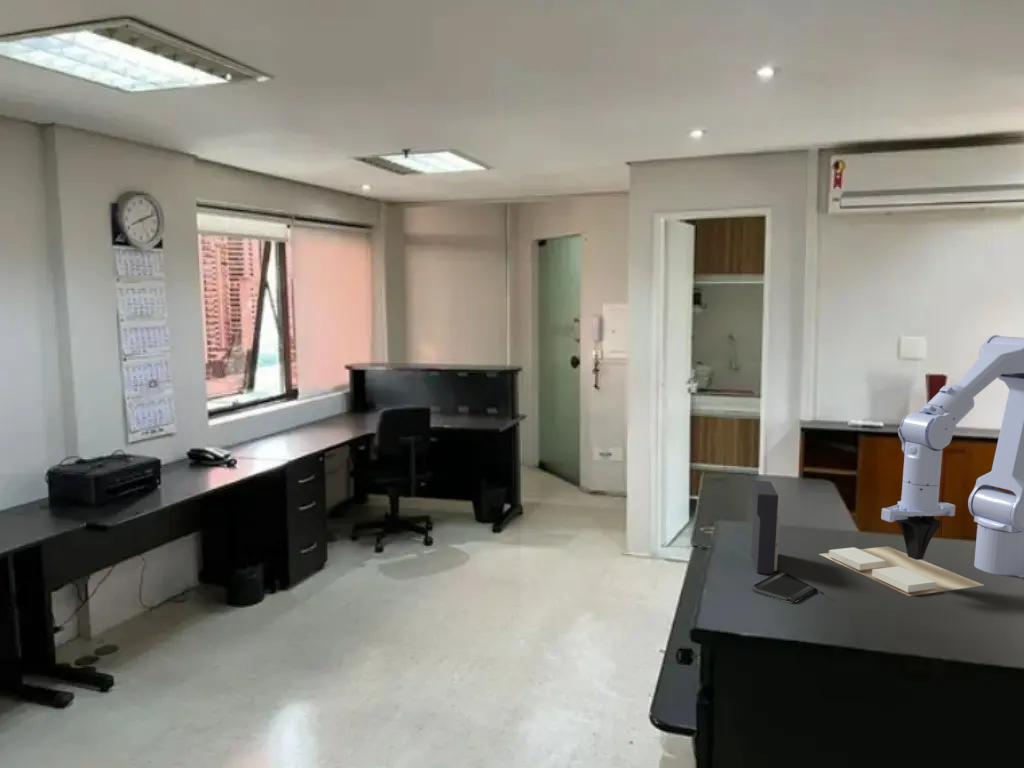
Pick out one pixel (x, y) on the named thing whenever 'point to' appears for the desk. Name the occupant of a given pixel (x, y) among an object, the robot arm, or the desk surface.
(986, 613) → the desk surface
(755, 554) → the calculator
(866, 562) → the tile
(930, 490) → the robot arm
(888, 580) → the tile
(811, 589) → the phone
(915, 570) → the board
